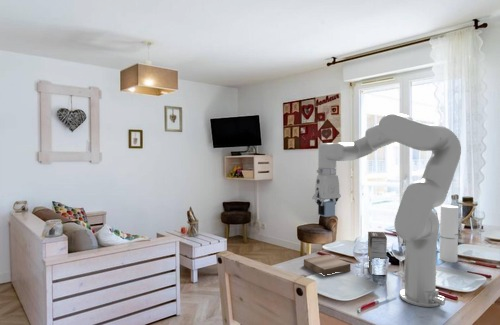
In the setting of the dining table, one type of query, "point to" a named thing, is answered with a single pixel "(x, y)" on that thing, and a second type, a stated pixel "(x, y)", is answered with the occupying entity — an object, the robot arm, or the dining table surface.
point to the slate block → (328, 208)
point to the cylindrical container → (449, 233)
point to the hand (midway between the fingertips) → (326, 213)
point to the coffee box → (376, 247)
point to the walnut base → (326, 264)
